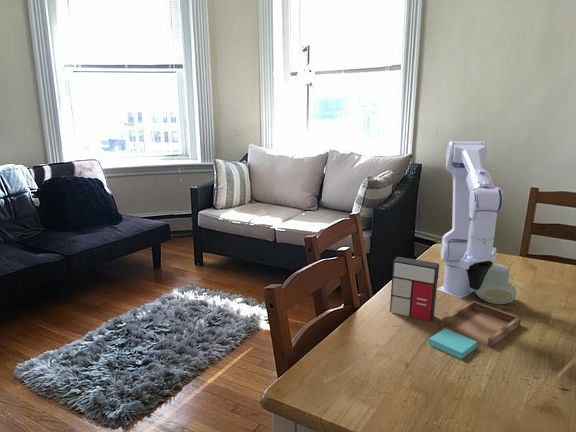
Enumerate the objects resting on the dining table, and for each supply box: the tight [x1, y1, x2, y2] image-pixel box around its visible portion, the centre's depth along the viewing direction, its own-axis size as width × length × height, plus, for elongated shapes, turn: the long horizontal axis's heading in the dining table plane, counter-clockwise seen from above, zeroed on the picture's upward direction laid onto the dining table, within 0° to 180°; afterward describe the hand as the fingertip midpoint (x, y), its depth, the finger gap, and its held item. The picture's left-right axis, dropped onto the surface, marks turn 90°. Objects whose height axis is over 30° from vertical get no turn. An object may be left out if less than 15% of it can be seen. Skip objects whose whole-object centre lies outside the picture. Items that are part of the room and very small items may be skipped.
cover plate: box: [428, 328, 478, 360], centre depth 103 cm, size 7×8×2 cm
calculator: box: [389, 256, 440, 322], centre depth 116 cm, size 11×4×15 cm, turn 62°
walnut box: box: [440, 300, 522, 348], centre depth 111 cm, size 16×13×2 cm
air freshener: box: [474, 263, 518, 305], centre depth 125 cm, size 11×8×10 cm
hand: (474, 288), depth 112 cm, fingers closed
